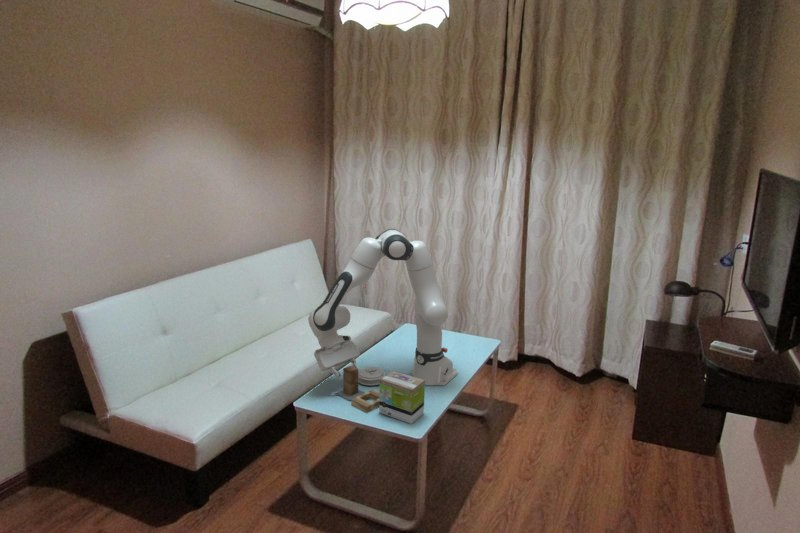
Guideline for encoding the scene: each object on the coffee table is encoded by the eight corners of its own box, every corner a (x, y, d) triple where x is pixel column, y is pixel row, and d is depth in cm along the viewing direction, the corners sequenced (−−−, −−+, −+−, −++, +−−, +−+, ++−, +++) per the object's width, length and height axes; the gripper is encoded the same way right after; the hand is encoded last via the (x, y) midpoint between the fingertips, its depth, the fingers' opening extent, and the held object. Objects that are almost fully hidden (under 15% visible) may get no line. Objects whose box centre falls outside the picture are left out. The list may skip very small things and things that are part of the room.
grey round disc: (389, 377, 234) (390, 367, 233) (378, 389, 223) (378, 378, 222) (364, 372, 239) (364, 362, 238) (351, 384, 227) (351, 373, 226)
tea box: (378, 413, 203) (378, 378, 199) (392, 403, 211) (392, 369, 208) (411, 425, 195) (412, 388, 192) (424, 413, 204) (425, 378, 200)
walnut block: (351, 389, 221) (351, 365, 218) (358, 392, 218) (358, 368, 215) (343, 392, 218) (343, 368, 215) (350, 396, 215) (350, 371, 212)
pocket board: (372, 394, 218) (372, 389, 217) (388, 402, 212) (388, 396, 211) (351, 404, 209) (351, 399, 208) (367, 412, 203) (367, 407, 203)
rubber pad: (351, 387, 224) (351, 385, 224) (365, 394, 218) (365, 392, 218) (335, 394, 218) (335, 392, 217) (350, 401, 212) (350, 400, 212)
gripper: (315, 347, 211) (331, 377, 207) (352, 334, 226) (368, 362, 222) (308, 354, 215) (324, 384, 211) (345, 341, 230) (361, 368, 226)
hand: (347, 372), depth 217 cm, fingers open, 8 cm apart
